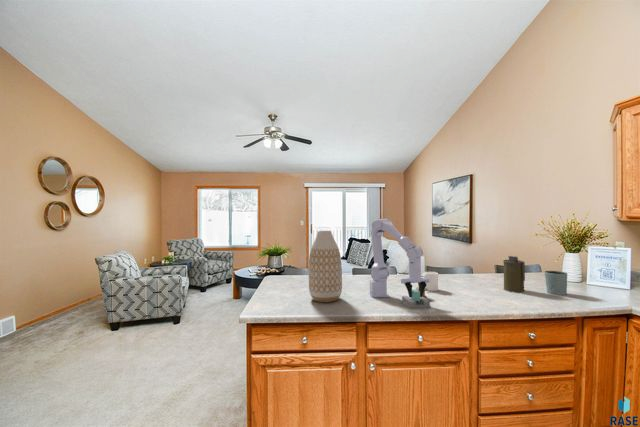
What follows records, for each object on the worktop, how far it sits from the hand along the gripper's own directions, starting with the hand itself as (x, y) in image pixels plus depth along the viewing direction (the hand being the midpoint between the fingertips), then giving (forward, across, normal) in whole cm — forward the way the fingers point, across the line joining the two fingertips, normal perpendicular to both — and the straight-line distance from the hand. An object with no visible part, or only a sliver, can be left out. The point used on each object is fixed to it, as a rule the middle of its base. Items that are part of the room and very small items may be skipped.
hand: (415, 296), depth 148 cm
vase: (+4, -45, +16) cm, 48 cm away
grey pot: (+4, +86, +8) cm, 87 cm away
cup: (+4, +19, +26) cm, 33 cm away
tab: (+3, 0, -1) cm, 3 cm away
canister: (+4, +68, +18) cm, 70 cm away
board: (+4, 0, 0) cm, 4 cm away
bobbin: (+4, +8, +11) cm, 14 cm away
